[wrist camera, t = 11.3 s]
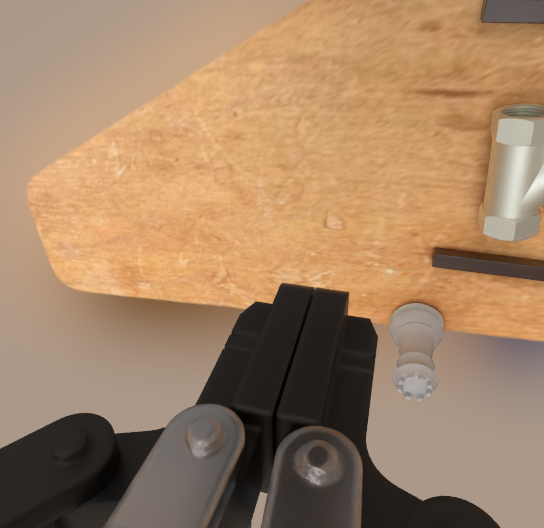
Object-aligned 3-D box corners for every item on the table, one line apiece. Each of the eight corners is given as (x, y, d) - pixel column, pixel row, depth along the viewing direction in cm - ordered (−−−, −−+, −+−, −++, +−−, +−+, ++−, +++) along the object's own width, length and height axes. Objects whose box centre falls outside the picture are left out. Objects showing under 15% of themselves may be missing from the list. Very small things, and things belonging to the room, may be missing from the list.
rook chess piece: (420, 348, 43) (419, 419, 36) (379, 322, 42) (371, 389, 36) (456, 319, 40) (461, 389, 34) (412, 290, 40) (409, 356, 33)
